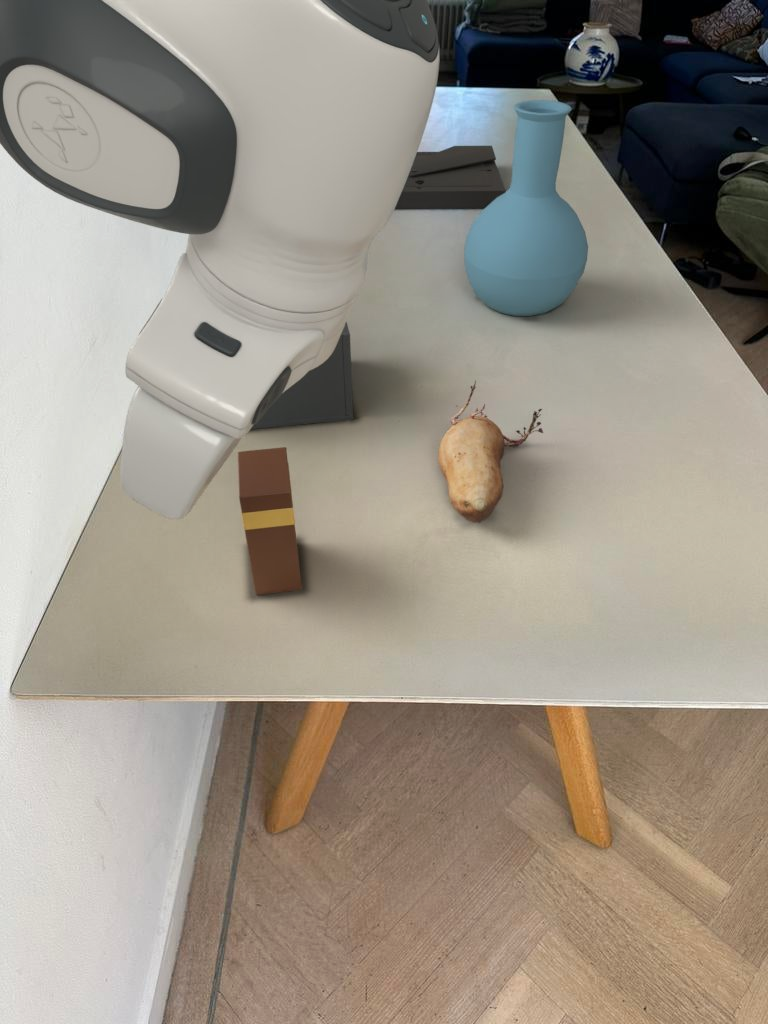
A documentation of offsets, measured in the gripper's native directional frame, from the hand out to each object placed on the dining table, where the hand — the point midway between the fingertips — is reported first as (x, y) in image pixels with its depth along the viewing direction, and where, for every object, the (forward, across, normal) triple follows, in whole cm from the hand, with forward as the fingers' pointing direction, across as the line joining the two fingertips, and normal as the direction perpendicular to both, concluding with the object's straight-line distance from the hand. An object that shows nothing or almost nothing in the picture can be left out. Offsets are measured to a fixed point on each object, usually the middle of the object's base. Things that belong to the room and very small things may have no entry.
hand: (221, 445), depth 51 cm
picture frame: (+38, -105, -6) cm, 112 cm away
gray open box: (+26, -31, -2) cm, 40 cm away
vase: (+21, -64, +18) cm, 70 cm away
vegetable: (+14, -22, +22) cm, 34 cm away
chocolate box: (+18, -4, +7) cm, 19 cm away
